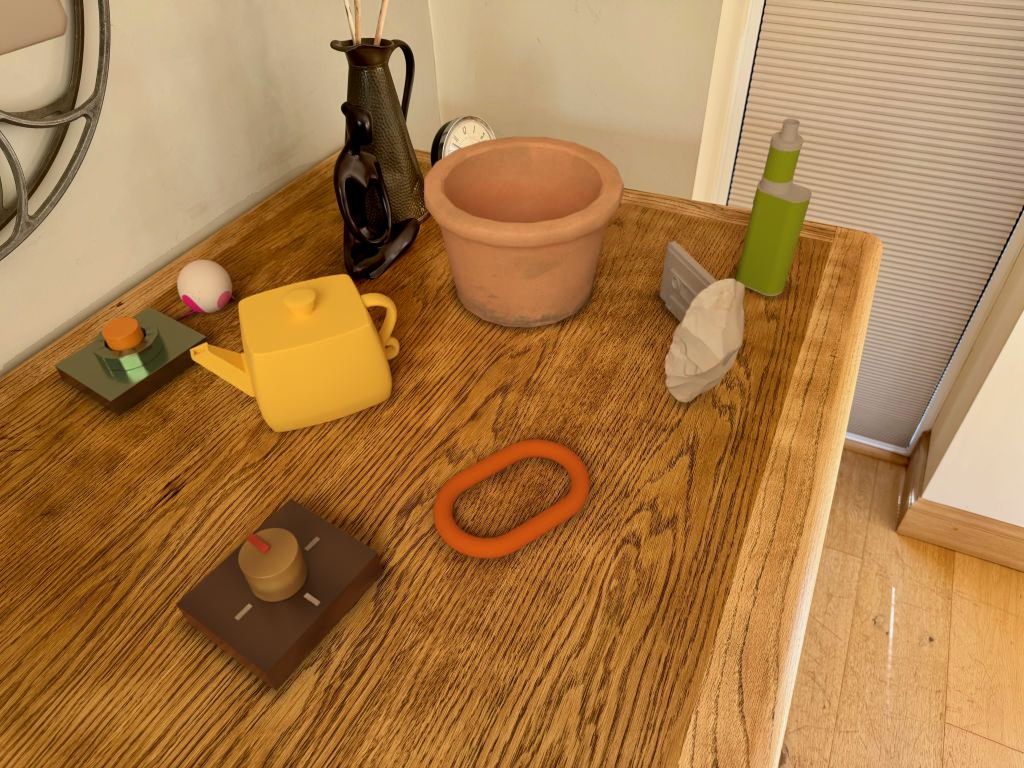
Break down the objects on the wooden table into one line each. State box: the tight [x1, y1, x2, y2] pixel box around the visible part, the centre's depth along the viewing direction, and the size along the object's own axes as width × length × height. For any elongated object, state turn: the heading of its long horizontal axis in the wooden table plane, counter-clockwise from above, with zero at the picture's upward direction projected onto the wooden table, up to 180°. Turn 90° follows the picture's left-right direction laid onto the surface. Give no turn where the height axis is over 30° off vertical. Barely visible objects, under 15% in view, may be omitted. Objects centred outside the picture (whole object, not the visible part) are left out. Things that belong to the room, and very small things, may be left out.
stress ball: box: [176, 259, 236, 318], centre depth 86 cm, size 8×8×7 cm
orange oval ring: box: [432, 438, 591, 559], centre depth 65 cm, size 10×2×15 cm
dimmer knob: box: [238, 528, 307, 602], centre depth 56 cm, size 4×4×4 cm
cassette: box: [659, 240, 717, 323], centre depth 81 cm, size 12×2×8 cm, turn 22°
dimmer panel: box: [175, 498, 384, 692], centre depth 58 cm, size 12×10×3 cm
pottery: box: [423, 136, 625, 329], centre depth 84 cm, size 22×22×14 cm
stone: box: [664, 278, 746, 404], centre depth 69 cm, size 8×5×15 cm
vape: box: [735, 117, 813, 297], centre depth 82 cm, size 4×6×20 cm, turn 47°
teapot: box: [190, 273, 401, 433], centre depth 73 cm, size 20×12×12 cm, turn 113°
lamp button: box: [101, 316, 144, 351], centre depth 77 cm, size 4×4×2 cm
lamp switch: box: [53, 306, 211, 417], centre depth 79 cm, size 12×10×4 cm
